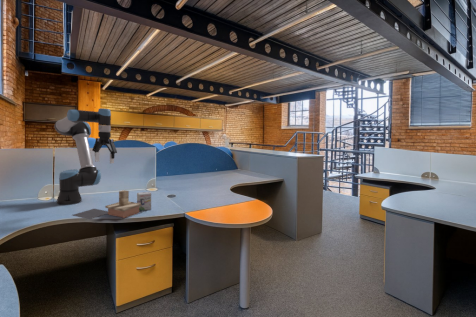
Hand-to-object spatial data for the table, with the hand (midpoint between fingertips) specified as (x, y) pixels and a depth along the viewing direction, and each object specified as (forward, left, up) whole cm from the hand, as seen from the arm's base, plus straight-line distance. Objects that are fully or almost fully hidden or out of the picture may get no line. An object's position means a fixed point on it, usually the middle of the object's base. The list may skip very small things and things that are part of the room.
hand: (104, 162), depth 177 cm
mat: (+8, -16, -31) cm, 36 cm away
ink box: (+28, +8, -32) cm, 43 cm away
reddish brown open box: (+24, -6, -31) cm, 40 cm away
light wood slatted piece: (+24, -6, -26) cm, 36 cm away
